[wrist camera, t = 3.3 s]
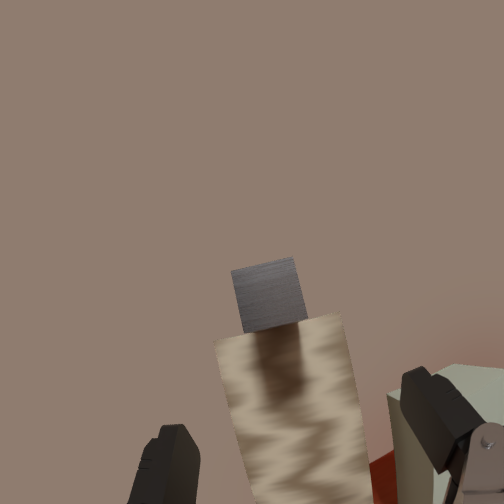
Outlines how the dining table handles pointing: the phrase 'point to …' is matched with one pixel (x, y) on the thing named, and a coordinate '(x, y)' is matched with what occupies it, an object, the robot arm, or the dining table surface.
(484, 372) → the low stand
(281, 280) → the metal bar
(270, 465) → the tall stand
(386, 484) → the dining table surface
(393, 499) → the dining table surface
